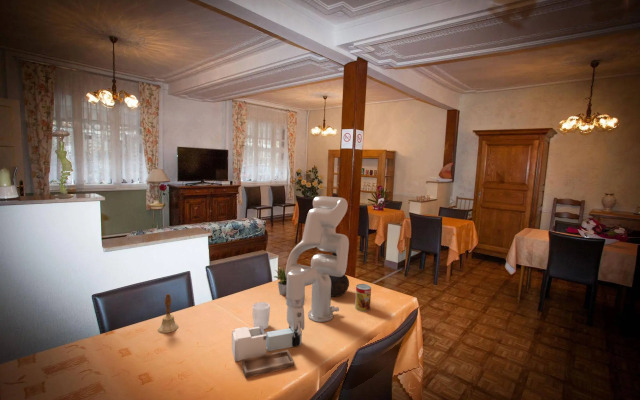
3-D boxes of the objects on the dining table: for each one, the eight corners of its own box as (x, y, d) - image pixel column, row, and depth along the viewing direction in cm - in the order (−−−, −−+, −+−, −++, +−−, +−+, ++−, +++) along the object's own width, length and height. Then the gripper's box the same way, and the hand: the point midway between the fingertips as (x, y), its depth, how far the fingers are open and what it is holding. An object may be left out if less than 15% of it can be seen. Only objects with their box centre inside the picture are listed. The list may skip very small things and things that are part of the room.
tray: (287, 354, 123) (287, 349, 123) (294, 366, 116) (294, 361, 116) (241, 364, 116) (241, 359, 116) (245, 377, 109) (245, 372, 108)
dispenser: (261, 344, 129) (262, 324, 128) (266, 355, 122) (266, 333, 121) (231, 350, 125) (232, 329, 124) (234, 361, 117) (235, 339, 116)
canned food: (368, 312, 162) (369, 290, 160) (353, 309, 164) (354, 287, 163) (371, 306, 169) (372, 285, 168) (356, 303, 172) (357, 282, 170)
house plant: (295, 299, 174) (295, 271, 172) (270, 298, 174) (271, 270, 173) (297, 289, 188) (298, 263, 187) (274, 288, 188) (275, 262, 187)
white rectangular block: (298, 339, 134) (298, 326, 133) (301, 344, 130) (301, 331, 129) (266, 346, 128) (266, 332, 128) (268, 351, 125) (268, 337, 124)
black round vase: (320, 286, 195) (322, 242, 192) (349, 288, 193) (351, 244, 190) (316, 297, 178) (318, 249, 175) (347, 300, 175) (350, 252, 172)
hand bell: (182, 326, 141) (182, 292, 140) (166, 335, 134) (166, 299, 132) (169, 322, 145) (169, 288, 143) (153, 330, 137) (152, 295, 136)
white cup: (265, 331, 139) (266, 310, 138) (249, 329, 141) (249, 308, 140) (272, 323, 147) (272, 303, 146) (256, 321, 148) (256, 301, 147)
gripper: (311, 307, 123) (309, 351, 125) (297, 291, 138) (296, 331, 140) (293, 310, 120) (291, 355, 122) (280, 293, 135) (280, 334, 137)
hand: (294, 341), depth 131 cm, fingers closed on white rectangular block, 4 cm apart
